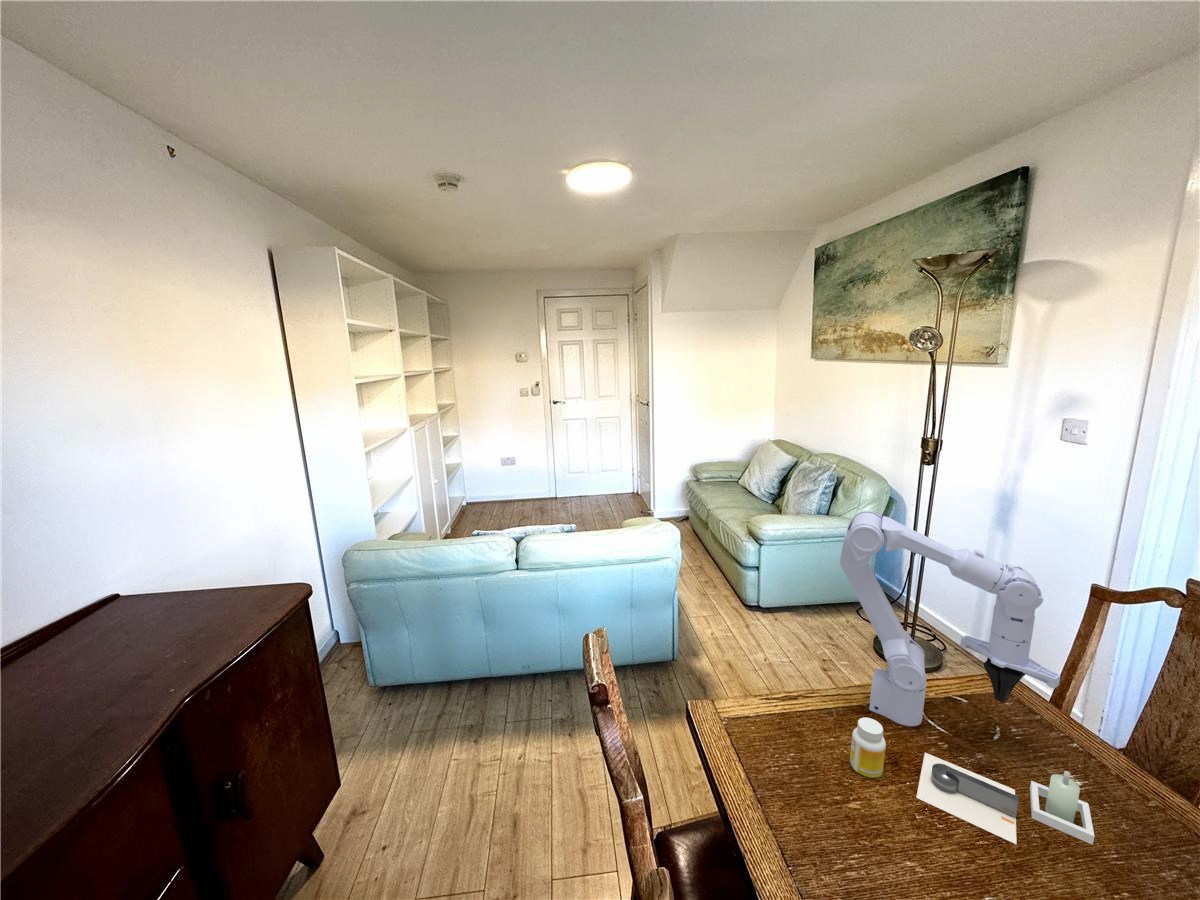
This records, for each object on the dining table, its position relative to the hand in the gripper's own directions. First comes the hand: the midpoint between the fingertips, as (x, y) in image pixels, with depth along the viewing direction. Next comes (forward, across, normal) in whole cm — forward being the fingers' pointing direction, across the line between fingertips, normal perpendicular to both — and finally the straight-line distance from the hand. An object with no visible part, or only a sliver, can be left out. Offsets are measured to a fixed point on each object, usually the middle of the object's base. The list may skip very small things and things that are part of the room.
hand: (1001, 699), depth 91 cm
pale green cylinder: (+10, +12, -8) cm, 18 cm away
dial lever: (+9, +4, -17) cm, 20 cm away
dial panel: (+10, +3, -17) cm, 20 cm away
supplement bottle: (+10, -9, -26) cm, 30 cm away
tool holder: (+10, +12, -8) cm, 18 cm away
